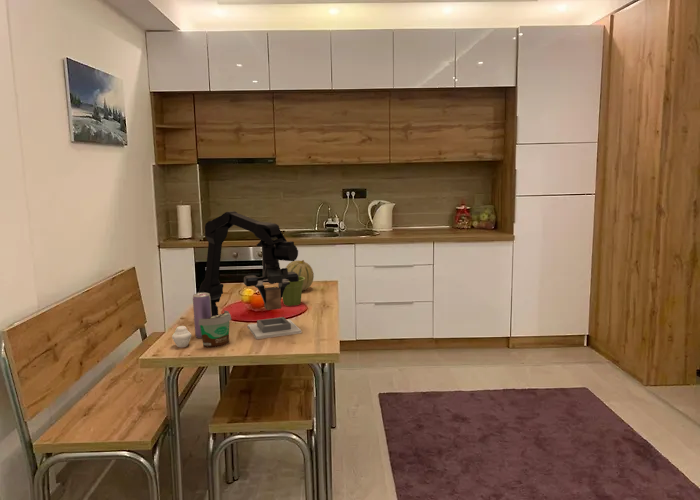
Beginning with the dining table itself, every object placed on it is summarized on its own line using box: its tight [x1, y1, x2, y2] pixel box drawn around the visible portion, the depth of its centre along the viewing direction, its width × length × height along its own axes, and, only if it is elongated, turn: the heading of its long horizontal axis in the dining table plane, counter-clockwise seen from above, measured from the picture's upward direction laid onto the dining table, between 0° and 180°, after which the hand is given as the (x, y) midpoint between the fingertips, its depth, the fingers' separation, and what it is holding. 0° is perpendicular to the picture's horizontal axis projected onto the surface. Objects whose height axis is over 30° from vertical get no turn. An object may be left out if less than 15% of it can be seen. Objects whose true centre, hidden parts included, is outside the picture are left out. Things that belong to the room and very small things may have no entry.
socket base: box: [247, 316, 303, 340], centre depth 191 cm, size 16×16×3 cm
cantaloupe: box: [285, 259, 315, 292], centre depth 253 cm, size 15×15×15 cm
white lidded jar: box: [171, 325, 192, 348], centre depth 176 cm, size 6×6×7 cm
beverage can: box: [192, 292, 212, 339], centre depth 185 cm, size 6×6×15 cm
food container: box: [198, 309, 232, 349], centre depth 176 cm, size 12×6×10 cm, turn 148°
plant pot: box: [282, 277, 305, 307], centre depth 228 cm, size 12×12×11 cm
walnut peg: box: [263, 286, 282, 311], centre depth 190 cm, size 5×5×7 cm
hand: (272, 302), depth 190 cm, fingers closed on walnut peg, 5 cm apart
